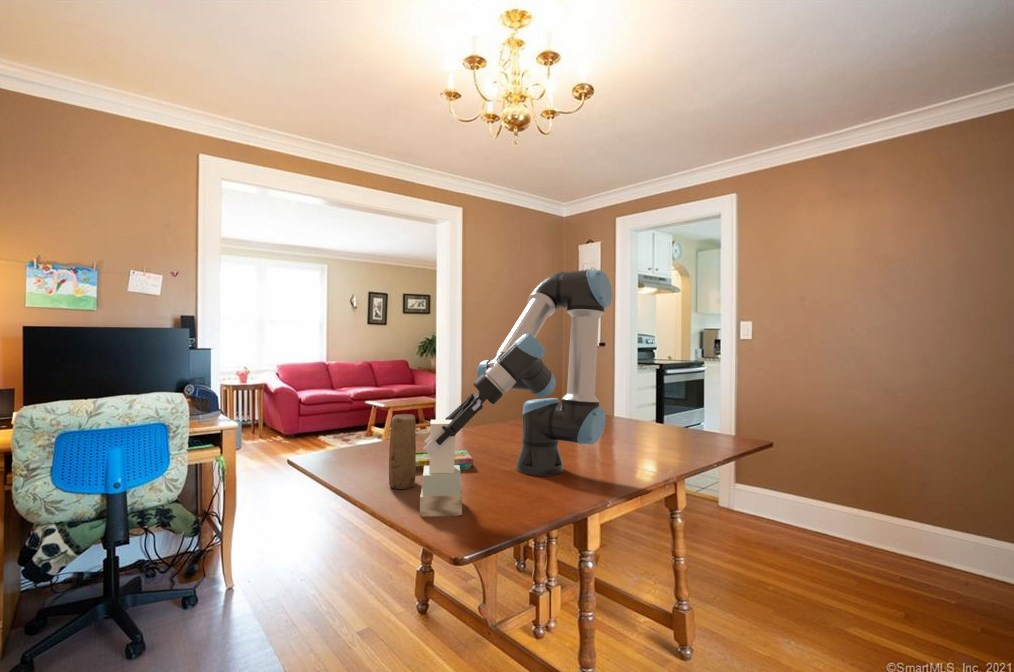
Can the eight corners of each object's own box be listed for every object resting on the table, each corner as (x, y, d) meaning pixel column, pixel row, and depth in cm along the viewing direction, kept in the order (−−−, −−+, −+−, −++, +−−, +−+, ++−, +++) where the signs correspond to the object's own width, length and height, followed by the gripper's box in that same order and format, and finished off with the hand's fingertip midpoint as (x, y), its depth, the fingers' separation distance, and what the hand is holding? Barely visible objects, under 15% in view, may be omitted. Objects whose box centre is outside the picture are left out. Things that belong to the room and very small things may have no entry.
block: (415, 489, 138) (416, 418, 138) (387, 491, 137) (389, 418, 137) (415, 478, 149) (416, 412, 149) (389, 479, 148) (390, 412, 148)
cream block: (453, 466, 127) (454, 419, 127) (454, 473, 121) (455, 423, 121) (429, 466, 126) (430, 419, 126) (429, 473, 120) (430, 423, 120)
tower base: (460, 503, 129) (461, 483, 129) (461, 517, 119) (462, 496, 119) (421, 504, 128) (422, 484, 128) (419, 518, 118) (420, 497, 118)
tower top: (458, 484, 129) (459, 465, 129) (460, 495, 120) (460, 474, 120) (423, 485, 127) (424, 465, 127) (422, 496, 119) (423, 475, 119)
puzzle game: (473, 456, 160) (410, 459, 155) (473, 471, 160) (410, 474, 155) (467, 448, 171) (408, 450, 166) (466, 462, 171) (407, 464, 166)
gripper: (480, 370, 135) (418, 430, 133) (487, 376, 115) (415, 446, 113) (499, 389, 136) (438, 449, 134) (509, 399, 116) (438, 469, 113)
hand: (427, 448), depth 123 cm, fingers open, 7 cm apart
